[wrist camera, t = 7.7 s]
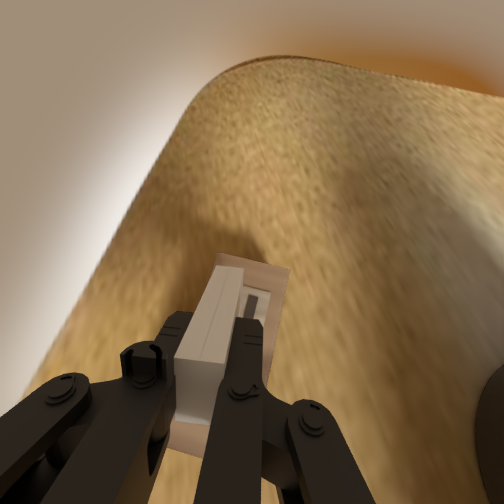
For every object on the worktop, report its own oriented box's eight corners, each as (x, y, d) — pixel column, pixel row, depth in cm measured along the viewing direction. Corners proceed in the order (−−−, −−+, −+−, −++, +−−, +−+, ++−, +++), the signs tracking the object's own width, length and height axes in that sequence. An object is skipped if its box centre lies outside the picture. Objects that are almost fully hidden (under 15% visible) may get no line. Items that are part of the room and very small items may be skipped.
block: (249, 475, 12) (290, 268, 17) (152, 445, 13) (217, 250, 17) (248, 443, 17) (280, 289, 21) (177, 422, 18) (223, 275, 22)
